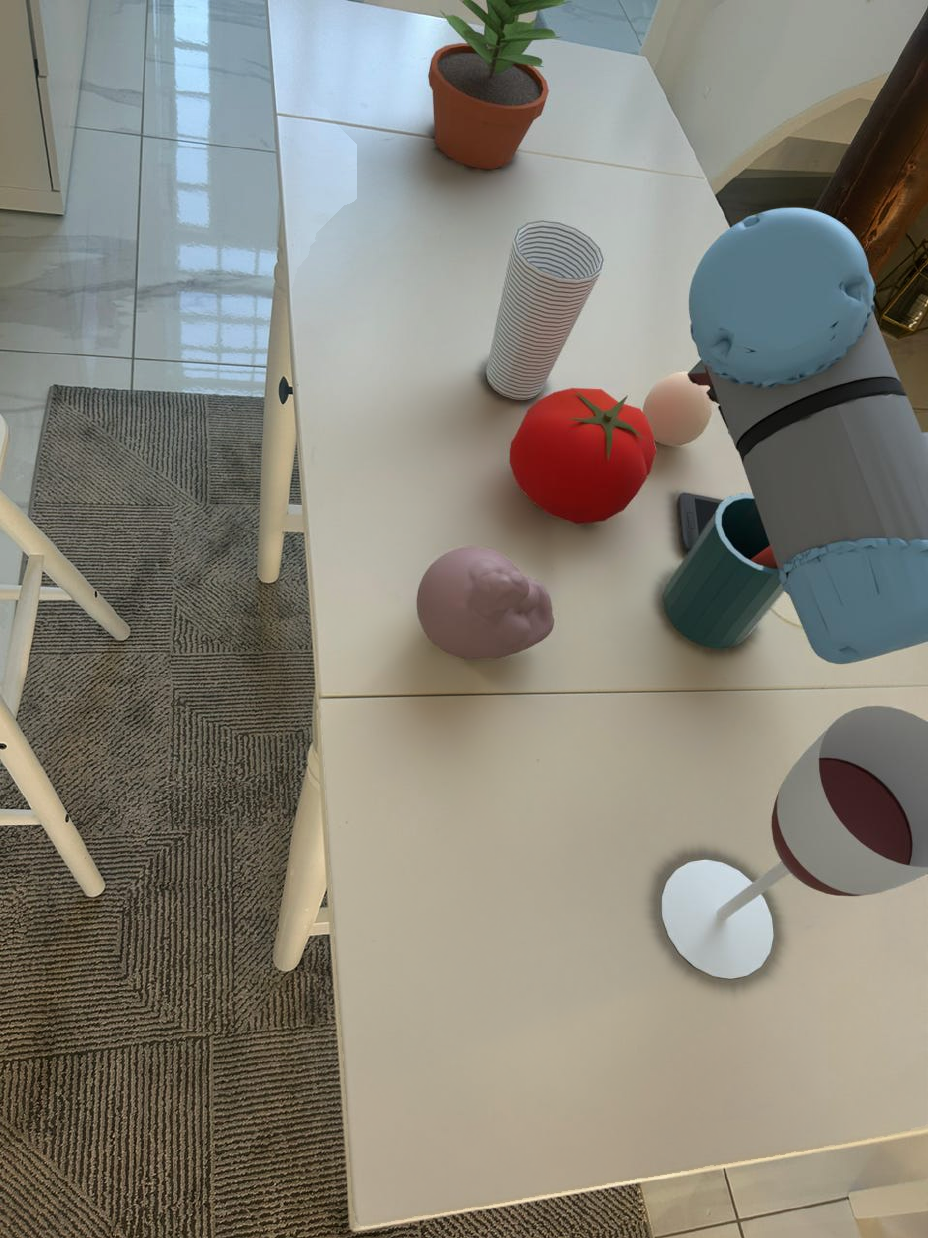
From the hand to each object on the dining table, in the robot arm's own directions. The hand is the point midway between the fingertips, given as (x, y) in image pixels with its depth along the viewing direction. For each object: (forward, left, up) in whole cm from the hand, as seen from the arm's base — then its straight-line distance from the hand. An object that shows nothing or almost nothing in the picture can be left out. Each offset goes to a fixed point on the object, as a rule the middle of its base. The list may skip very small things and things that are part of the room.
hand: (809, 478), depth 74 cm
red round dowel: (0, +1, -16) cm, 16 cm away
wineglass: (-24, +16, -17) cm, 34 cm away
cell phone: (+6, -8, -17) cm, 20 cm away
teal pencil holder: (0, +1, -17) cm, 17 cm away
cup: (+31, +5, -17) cm, 36 cm away
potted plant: (+71, -10, -17) cm, 74 cm away
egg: (+20, -7, -17) cm, 27 cm away
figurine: (+4, +23, -17) cm, 29 cm away
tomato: (+16, +7, -17) cm, 25 cm away
